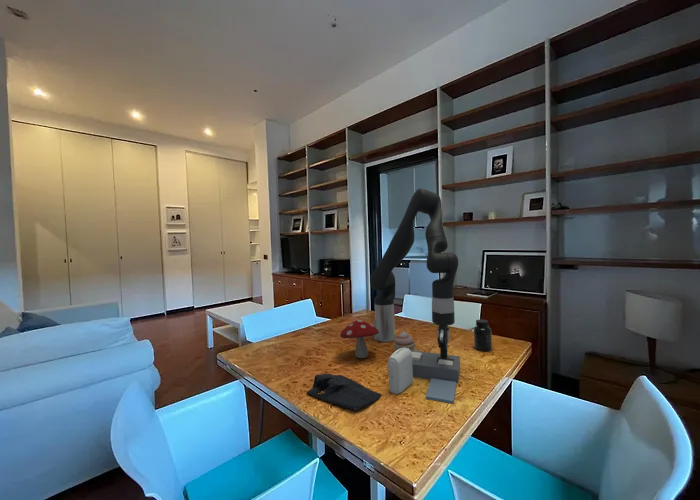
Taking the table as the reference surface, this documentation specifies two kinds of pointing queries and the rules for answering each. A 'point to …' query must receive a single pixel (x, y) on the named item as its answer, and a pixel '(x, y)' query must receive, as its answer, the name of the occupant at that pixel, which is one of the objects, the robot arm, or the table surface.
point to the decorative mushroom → (359, 335)
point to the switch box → (436, 367)
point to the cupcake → (404, 341)
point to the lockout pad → (441, 390)
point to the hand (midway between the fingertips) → (443, 357)
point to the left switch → (416, 356)
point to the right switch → (445, 362)
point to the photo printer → (400, 370)
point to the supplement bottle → (482, 336)
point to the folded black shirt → (342, 391)
